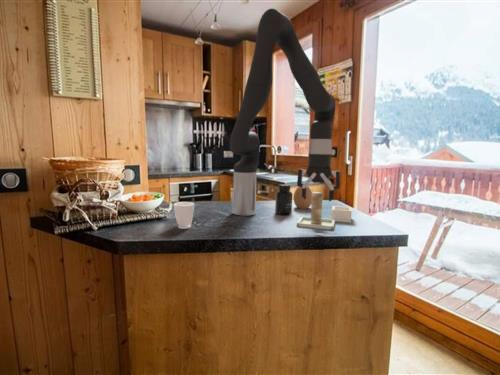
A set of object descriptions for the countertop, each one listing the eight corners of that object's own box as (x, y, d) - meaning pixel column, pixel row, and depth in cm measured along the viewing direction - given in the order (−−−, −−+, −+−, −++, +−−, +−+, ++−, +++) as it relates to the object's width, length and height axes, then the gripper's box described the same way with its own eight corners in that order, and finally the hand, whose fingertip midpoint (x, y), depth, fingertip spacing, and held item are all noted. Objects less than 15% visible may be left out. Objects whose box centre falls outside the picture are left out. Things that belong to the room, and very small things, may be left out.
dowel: (310, 224, 102) (311, 193, 100) (311, 222, 105) (312, 191, 104) (320, 225, 101) (321, 194, 99) (321, 222, 104) (322, 192, 102)
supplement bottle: (291, 216, 118) (292, 186, 116) (274, 215, 119) (275, 185, 118) (292, 212, 125) (293, 184, 123) (276, 211, 126) (276, 183, 124)
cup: (172, 230, 96) (172, 206, 95) (175, 222, 106) (175, 200, 105) (194, 229, 97) (194, 205, 96) (195, 221, 107) (195, 199, 106)
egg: (300, 206, 136) (301, 182, 134) (315, 209, 130) (317, 184, 128) (289, 209, 130) (290, 184, 128) (305, 212, 124) (306, 186, 123)
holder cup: (330, 222, 109) (331, 209, 108) (331, 218, 115) (332, 205, 115) (350, 224, 107) (351, 211, 106) (350, 220, 113) (351, 207, 112)
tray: (296, 228, 100) (296, 222, 100) (301, 221, 110) (301, 216, 109) (333, 232, 97) (333, 226, 96) (334, 224, 106) (334, 219, 106)
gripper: (297, 152, 98) (295, 200, 101) (341, 153, 94) (338, 203, 96) (300, 152, 105) (298, 196, 108) (342, 153, 101) (339, 199, 103)
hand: (317, 199), depth 102 cm, fingers open, 8 cm apart
